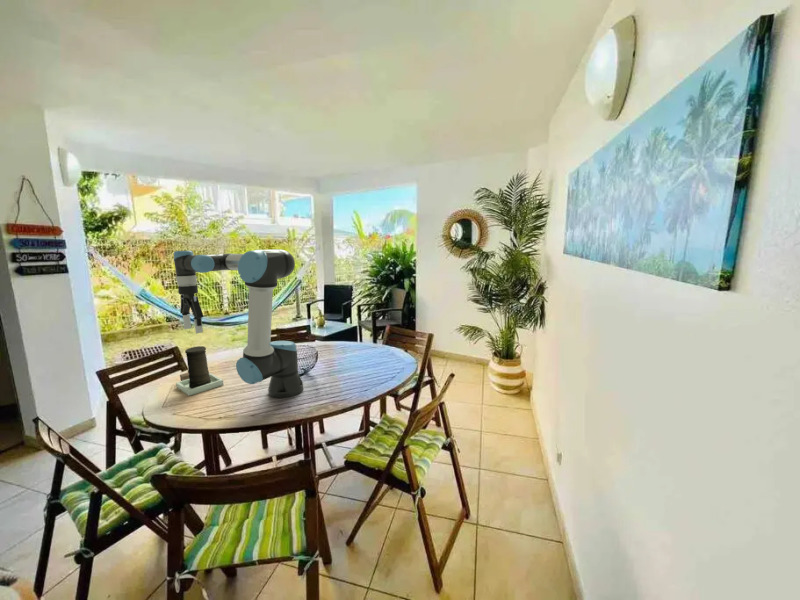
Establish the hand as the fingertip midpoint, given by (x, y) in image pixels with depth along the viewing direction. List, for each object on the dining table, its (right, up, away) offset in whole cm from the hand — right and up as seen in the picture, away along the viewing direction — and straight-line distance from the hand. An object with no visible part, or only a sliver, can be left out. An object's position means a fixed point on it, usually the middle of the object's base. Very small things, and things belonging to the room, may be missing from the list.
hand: (193, 330), depth 155 cm
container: (0, -27, +5) cm, 27 cm away
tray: (0, -27, +5) cm, 27 cm away
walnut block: (-9, -26, +10) cm, 30 cm away
